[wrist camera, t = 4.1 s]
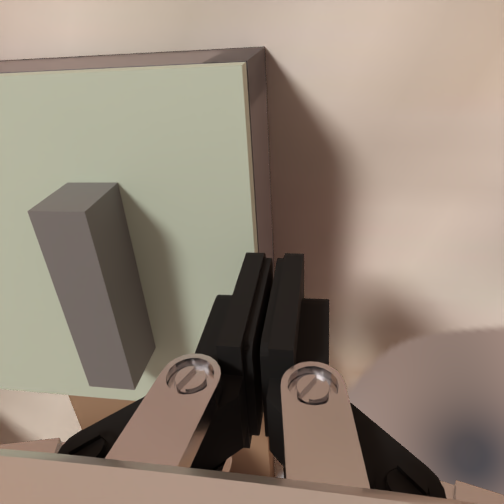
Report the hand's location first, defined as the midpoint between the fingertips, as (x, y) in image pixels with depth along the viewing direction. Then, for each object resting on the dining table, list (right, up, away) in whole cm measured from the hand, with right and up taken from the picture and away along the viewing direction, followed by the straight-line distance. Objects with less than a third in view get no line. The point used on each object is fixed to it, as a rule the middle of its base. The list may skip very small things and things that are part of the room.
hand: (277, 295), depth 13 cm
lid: (-7, +1, +2) cm, 7 cm away
